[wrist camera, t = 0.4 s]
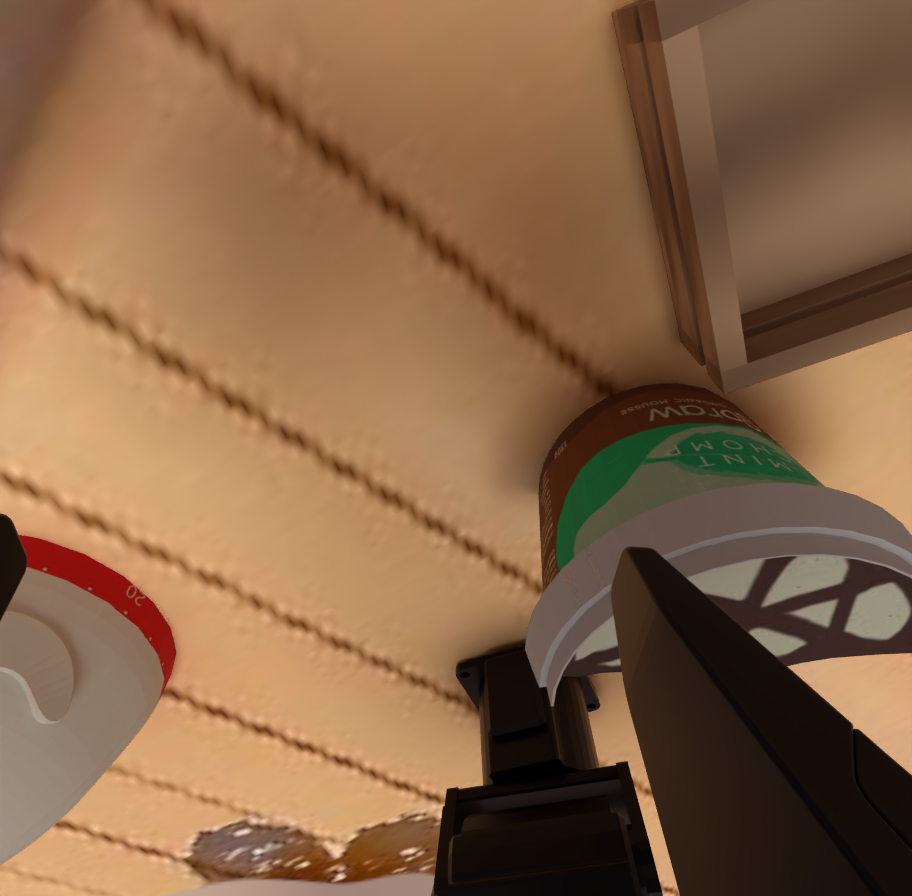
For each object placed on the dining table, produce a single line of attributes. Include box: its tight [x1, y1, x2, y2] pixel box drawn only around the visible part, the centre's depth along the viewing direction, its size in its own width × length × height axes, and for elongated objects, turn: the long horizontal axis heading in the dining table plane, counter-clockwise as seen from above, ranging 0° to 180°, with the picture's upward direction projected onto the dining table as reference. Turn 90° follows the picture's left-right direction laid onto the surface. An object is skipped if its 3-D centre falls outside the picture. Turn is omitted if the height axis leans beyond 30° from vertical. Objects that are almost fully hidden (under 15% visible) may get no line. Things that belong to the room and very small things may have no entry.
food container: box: [525, 384, 912, 706], centre depth 20 cm, size 12×6×10 cm, turn 95°
